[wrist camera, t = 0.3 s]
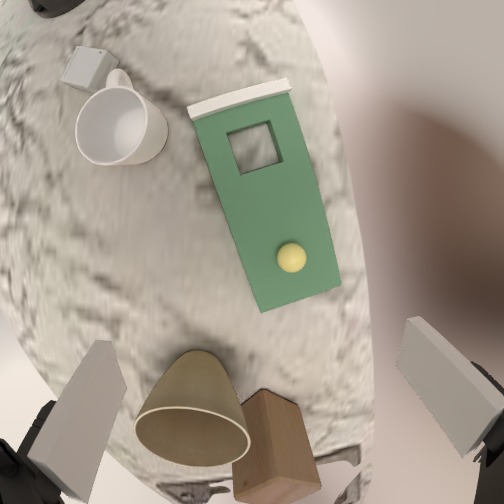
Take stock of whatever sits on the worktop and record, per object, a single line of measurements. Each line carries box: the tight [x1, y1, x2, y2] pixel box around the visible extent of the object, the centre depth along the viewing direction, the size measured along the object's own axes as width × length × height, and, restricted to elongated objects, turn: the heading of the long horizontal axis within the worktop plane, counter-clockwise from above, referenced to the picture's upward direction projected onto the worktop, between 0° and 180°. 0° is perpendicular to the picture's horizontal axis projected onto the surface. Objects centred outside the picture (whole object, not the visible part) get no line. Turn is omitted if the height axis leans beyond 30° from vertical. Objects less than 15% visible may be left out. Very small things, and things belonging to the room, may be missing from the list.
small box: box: [59, 46, 119, 94], centre depth 27 cm, size 6×6×5 cm
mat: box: [187, 78, 342, 313], centre depth 34 cm, size 28×12×4 cm, turn 18°
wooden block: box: [232, 390, 321, 504], centre depth 39 cm, size 10×10×20 cm
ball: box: [277, 243, 306, 273], centre depth 35 cm, size 4×4×4 cm
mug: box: [75, 69, 168, 166], centre depth 27 cm, size 12×8×10 cm
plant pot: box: [133, 350, 251, 468], centre depth 36 cm, size 15×15×16 cm
